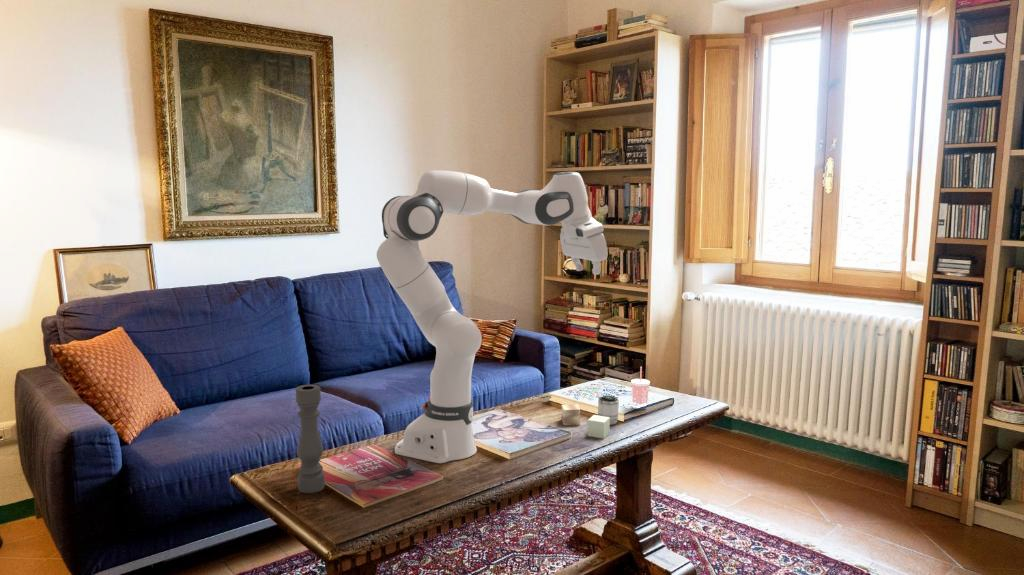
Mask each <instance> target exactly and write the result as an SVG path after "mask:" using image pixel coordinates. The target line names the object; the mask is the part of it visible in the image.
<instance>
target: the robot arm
mask: <svg viewBox="0 0 1024 575" xmlns="http://www.w3.org/2000/svg"><path fill="white" fill-rule="evenodd" d="M419 178H420V179H419V181H418V184H417V190H416V191H415V193H414V194H413V195H397V196H394V197H392V198H390V199H389V200H388V201H386V202H385V204H384V206H383V208H382V210H381V222H382V230H383V236H384V238H385V240H383V241H382V243H380V245H379V247H378V249H377V251H376V258H377V261H378V263H379V266H380V268H381V269H382V272H383V274H384V275H385V278H386V279H387V280H388V282H389V284H390V285H391V287H392V288H393V290H394V291H395V292H396V294H397V295H398V296H399V298H400V300H402V301H403V303H404V305H405V306H406V307H407V309H408V310H409V312H410V314H411V315H412V317H413V320H414V321H415V323H416V325H417V326H418V327H419V329H420V331H421V332H422V334H423V336H424V337H425V339H426V341H428V342H429V343H430V344H431V345H432V346H433V347H435V352H436V354H435V361H434V364H433V368H432V370H431V372H430V375H429V376H430V377H429V380H430V382H429V383H430V384H429V385H430V386H429V387H430V389H429V390H430V392H429V393H430V397H428V399H427V401H425V402H424V403H423V405H422V406H421V407H422V409H421V410H422V411H424V413H422V414H420V416H418V417H417V418H416V419H414V420H413V421H412V422H410V423H409V424H408V425H407V427H406V428H405V430H404V433H403V437H402V439H401V440H399V441H398V442H397V443H396V445H395V446H394V453H395V455H400V456H404V457H408V458H413V459H417V460H422V461H425V462H431V463H436V464H444V463H448V462H451V461H458V460H463V459H466V458H471V456H473V455H475V454H476V453H477V451H478V448H477V446H476V441H475V438H474V430H473V429H474V428H473V423H472V422H473V420H474V419H473V417H474V407H473V404H474V403H473V400H472V372H473V367H474V362H475V357H476V353H478V351H479V350H480V348H481V345H482V343H483V342H482V341H483V338H482V333H481V332H482V331H480V329H479V327H478V326H477V324H476V323H475V322H474V321H473V320H472V319H471V318H469V317H467V316H466V315H463V314H462V313H460V312H459V311H458V310H457V309H456V308H455V307H454V305H453V304H452V302H451V300H450V298H449V295H448V294H447V291H446V288H445V286H444V284H443V282H442V281H441V279H440V278H439V277H438V275H437V274H436V272H435V271H434V269H433V268H432V266H431V265H430V264H429V262H428V260H427V259H426V258H425V256H424V255H423V254H422V251H421V249H420V246H419V245H420V244H419V242H420V241H424V240H427V239H429V238H430V237H431V236H433V235H434V234H435V232H436V231H437V230H438V228H439V224H440V220H441V218H442V216H443V214H444V213H445V214H452V215H457V216H458V215H459V216H481V215H483V214H484V213H486V212H495V213H500V214H504V215H509V216H512V217H514V218H515V219H517V220H518V221H519V222H521V223H523V224H527V225H541V226H553V225H557V224H558V223H561V228H560V234H559V240H560V246H561V251H562V254H563V255H564V256H566V257H570V259H571V262H572V263H573V265H574V266H575V271H577V272H581V271H584V265H583V263H582V262H581V259H582V260H586V261H591V264H592V265H593V266H592V267H593V268H592V269H591V272H592V275H595V276H597V275H600V274H601V264H602V262H601V261H605V260H607V258H608V255H609V254H608V247H607V241H606V238H605V235H604V233H603V232H604V225H603V224H602V223H601V222H599V221H597V219H595V218H594V217H593V215H592V212H591V210H590V207H589V203H588V202H589V197H588V192H587V188H586V185H585V182H584V180H583V177H582V175H581V174H580V172H576V171H563V172H562V171H561V172H556V173H555V174H553V176H552V178H551V180H549V182H548V183H547V184H546V185H545V186H544V187H543V188H542V189H540V190H536V189H530V188H529V189H524V190H520V191H517V192H512V191H507V190H501V189H495V188H492V187H491V186H490V183H489V182H488V181H487V179H486V178H483V177H480V176H477V175H475V174H470V173H466V172H460V171H455V170H444V169H443V170H429V171H426V172H424V173H423V174H422V175H421V177H419Z"/></svg>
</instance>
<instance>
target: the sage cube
mask: <svg viewBox="0 0 1024 575" xmlns="http://www.w3.org/2000/svg"><path fill="white" fill-rule="evenodd" d="M610 426H611V425H610V417H604V416H598V414H593V415H592V416H591V417H590V418H589V419H588V420H587V437H591V438H598V439H605V438H607V436H609V435H610V429H611V428H610Z"/></svg>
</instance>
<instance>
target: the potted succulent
mask: <svg viewBox="0 0 1024 575" xmlns="http://www.w3.org/2000/svg"><path fill="white" fill-rule="evenodd" d="M597 404H598V406H597V415H598V416H604V417H610V426H611V425H616V424H617V422H618V421H619V408H620V406H619V404H620V400H619V399H618V398H617V397H616V396H612V395H602V396H601V397H599V398H598V403H597Z"/></svg>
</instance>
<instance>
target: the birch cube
mask: <svg viewBox="0 0 1024 575" xmlns="http://www.w3.org/2000/svg"><path fill="white" fill-rule="evenodd" d="M560 417H561V422H562V425H563V426H580V425H581V409H580V406H579V404H577V403H575V404H561V416H560Z"/></svg>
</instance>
